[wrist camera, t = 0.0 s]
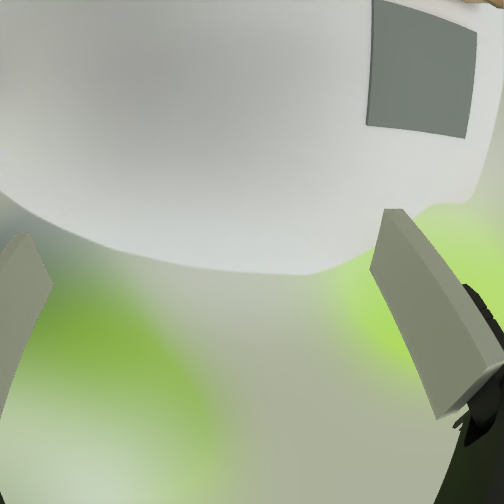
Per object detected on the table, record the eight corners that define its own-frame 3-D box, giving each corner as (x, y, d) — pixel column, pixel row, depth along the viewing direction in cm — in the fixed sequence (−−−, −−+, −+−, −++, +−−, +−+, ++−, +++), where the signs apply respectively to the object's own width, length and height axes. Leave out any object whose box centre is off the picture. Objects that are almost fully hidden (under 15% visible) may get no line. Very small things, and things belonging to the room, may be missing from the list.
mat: (371, -2, 25) (373, -2, 24) (474, 32, 26) (476, 32, 25) (365, 124, 35) (367, 125, 35) (462, 137, 36) (464, 138, 35)
